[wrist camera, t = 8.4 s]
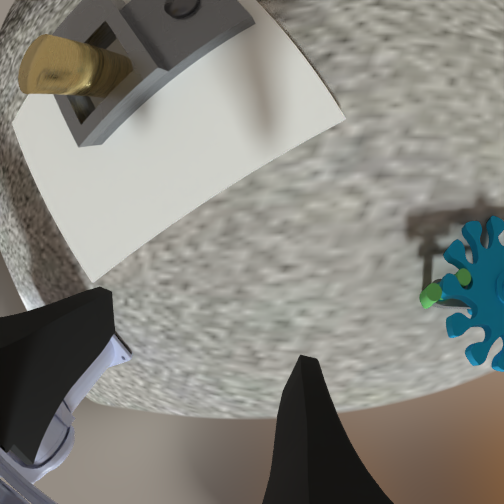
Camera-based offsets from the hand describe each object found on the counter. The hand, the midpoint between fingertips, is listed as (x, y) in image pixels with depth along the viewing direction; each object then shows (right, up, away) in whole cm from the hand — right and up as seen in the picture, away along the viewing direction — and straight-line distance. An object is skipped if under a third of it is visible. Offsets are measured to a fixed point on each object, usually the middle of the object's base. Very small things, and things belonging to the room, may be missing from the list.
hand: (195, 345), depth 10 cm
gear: (+18, +2, +6) cm, 19 cm away
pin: (-7, +15, +5) cm, 17 cm away
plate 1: (-8, +16, +4) cm, 19 cm away
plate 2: (-5, +16, +4) cm, 17 cm away
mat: (-7, +13, +6) cm, 16 cm away
